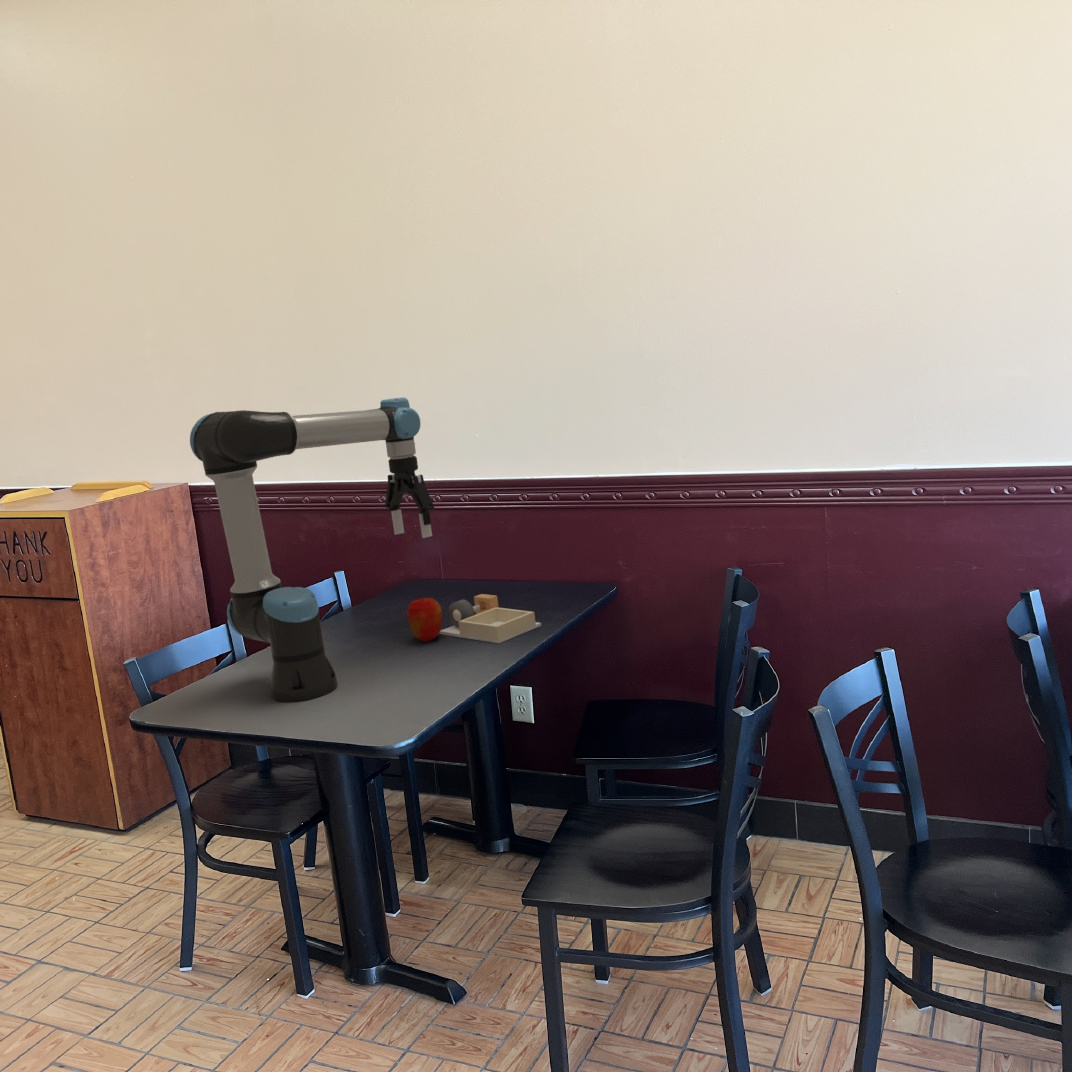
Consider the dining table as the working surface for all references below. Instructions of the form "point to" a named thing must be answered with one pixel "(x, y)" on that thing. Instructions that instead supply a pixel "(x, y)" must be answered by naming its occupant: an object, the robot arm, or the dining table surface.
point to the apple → (425, 618)
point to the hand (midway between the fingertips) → (413, 535)
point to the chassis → (493, 622)
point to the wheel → (461, 611)
